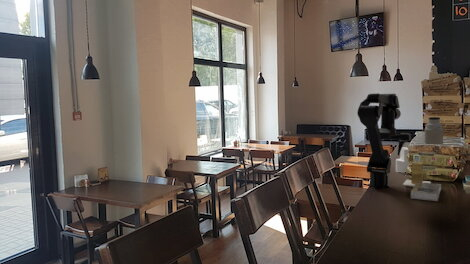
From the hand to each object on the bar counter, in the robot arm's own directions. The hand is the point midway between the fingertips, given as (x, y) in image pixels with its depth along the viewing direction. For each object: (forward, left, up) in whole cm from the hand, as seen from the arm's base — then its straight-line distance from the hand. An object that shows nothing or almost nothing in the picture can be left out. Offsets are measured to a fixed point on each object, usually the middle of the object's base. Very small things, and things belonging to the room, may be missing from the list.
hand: (387, 154), depth 170 cm
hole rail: (0, -25, -12) cm, 28 cm away
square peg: (+7, -10, -11) cm, 17 cm away
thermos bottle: (+28, +4, -12) cm, 31 cm away
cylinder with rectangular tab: (+20, +14, -12) cm, 27 cm away
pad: (+7, -10, -12) cm, 18 cm away
